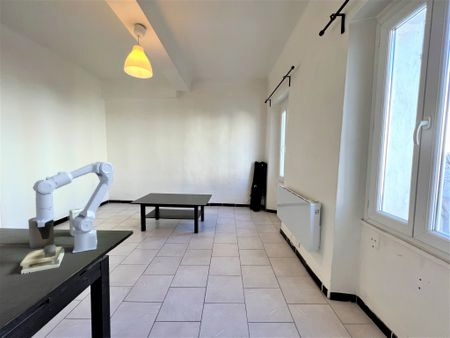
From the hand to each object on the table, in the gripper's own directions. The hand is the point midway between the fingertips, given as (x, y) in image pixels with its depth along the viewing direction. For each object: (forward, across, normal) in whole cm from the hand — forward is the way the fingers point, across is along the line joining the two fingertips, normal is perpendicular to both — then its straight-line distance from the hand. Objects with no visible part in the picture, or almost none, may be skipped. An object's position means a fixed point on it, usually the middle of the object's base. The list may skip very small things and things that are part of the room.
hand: (45, 238), depth 93 cm
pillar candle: (+10, -22, -6) cm, 25 cm away
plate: (+6, +3, 0) cm, 7 cm away
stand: (+9, +4, 0) cm, 10 cm away
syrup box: (+10, -31, +8) cm, 33 cm away
